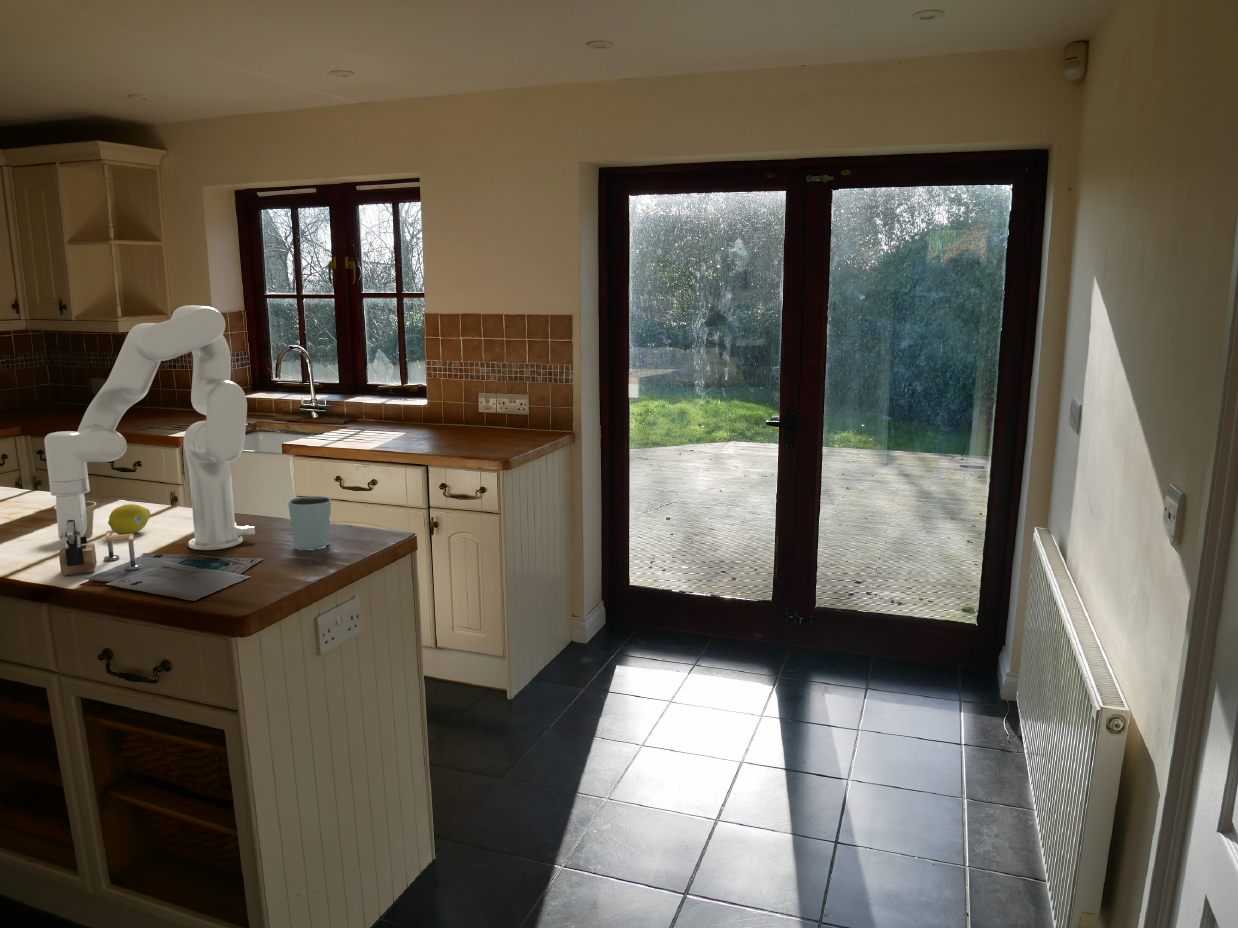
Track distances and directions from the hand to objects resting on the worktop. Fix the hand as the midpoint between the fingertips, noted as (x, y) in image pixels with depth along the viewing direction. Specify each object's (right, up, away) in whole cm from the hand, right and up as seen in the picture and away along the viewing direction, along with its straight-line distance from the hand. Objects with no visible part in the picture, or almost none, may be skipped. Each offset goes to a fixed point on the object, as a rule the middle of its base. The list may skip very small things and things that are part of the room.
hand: (78, 559), depth 200 cm
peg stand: (0, -3, +1) cm, 3 cm away
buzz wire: (+6, -2, +6) cm, 9 cm away
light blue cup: (+46, +1, +22) cm, 51 cm away
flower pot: (-18, +2, +29) cm, 34 cm away
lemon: (-6, +3, +32) cm, 33 cm away
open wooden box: (0, -2, 0) cm, 2 cm away
